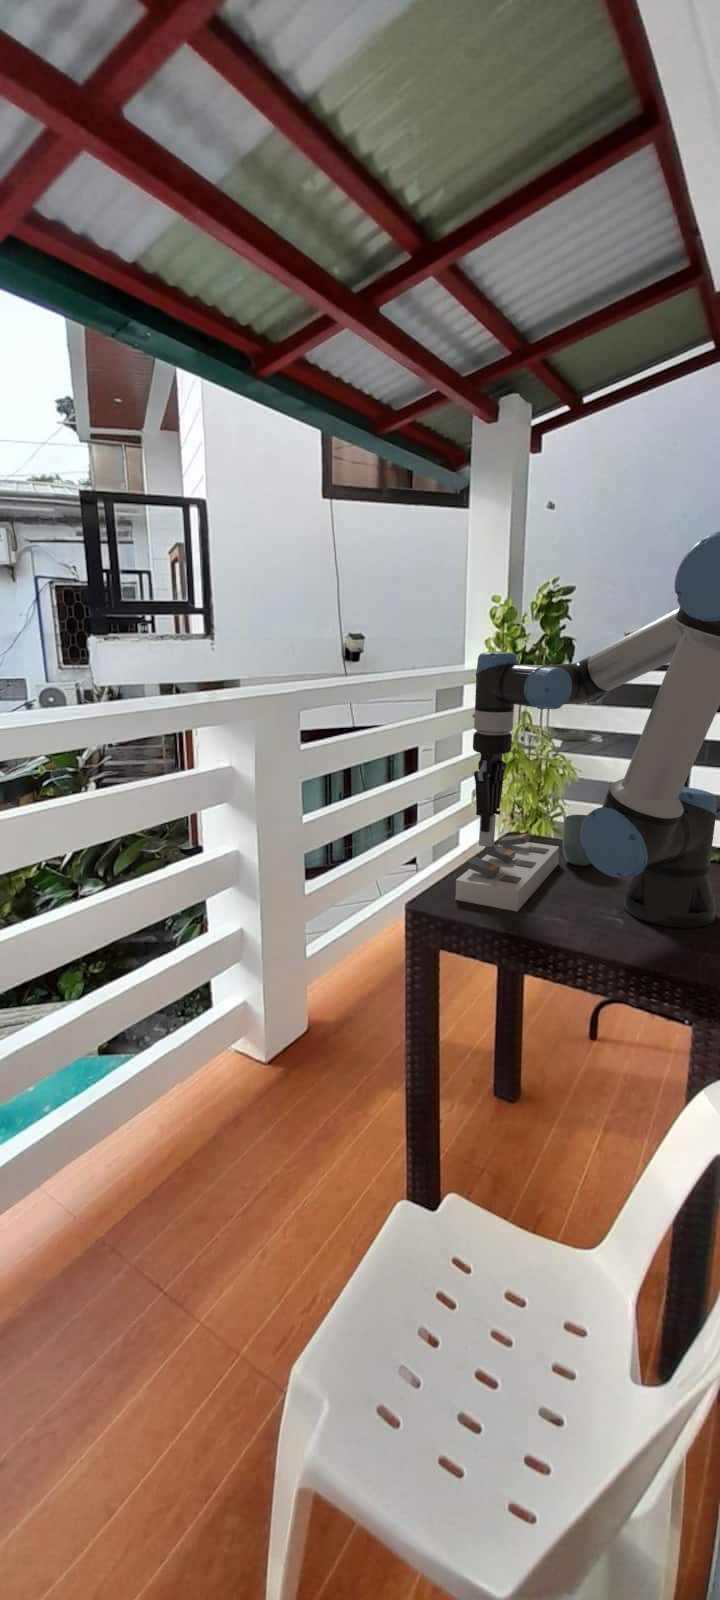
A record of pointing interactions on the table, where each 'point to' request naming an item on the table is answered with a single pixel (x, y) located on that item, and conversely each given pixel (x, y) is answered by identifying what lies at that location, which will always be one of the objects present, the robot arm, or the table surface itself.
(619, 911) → the table surface
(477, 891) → the power strip
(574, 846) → the cup
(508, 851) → the rocker
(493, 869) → the rocker
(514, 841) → the rocker
